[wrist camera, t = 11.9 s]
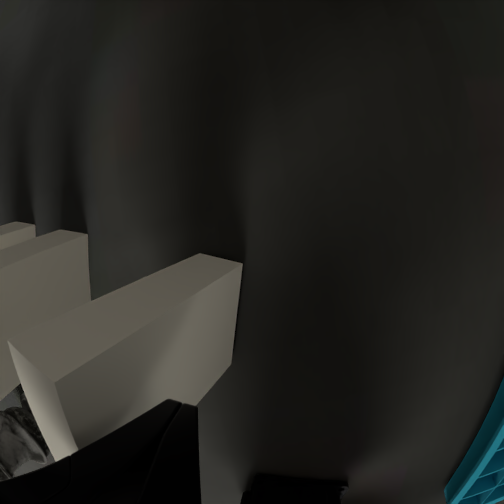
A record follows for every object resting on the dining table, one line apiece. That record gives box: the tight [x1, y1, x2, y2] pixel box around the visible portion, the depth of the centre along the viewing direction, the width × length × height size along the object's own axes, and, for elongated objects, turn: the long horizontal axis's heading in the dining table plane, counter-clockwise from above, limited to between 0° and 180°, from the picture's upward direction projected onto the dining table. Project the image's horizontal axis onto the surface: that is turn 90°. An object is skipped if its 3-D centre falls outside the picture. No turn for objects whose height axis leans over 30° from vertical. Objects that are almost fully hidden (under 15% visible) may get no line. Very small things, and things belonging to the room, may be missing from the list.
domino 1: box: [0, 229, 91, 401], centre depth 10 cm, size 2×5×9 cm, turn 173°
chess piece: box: [0, 393, 50, 481], centre depth 14 cm, size 6×6×12 cm
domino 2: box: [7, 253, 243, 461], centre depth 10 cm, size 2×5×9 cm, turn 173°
